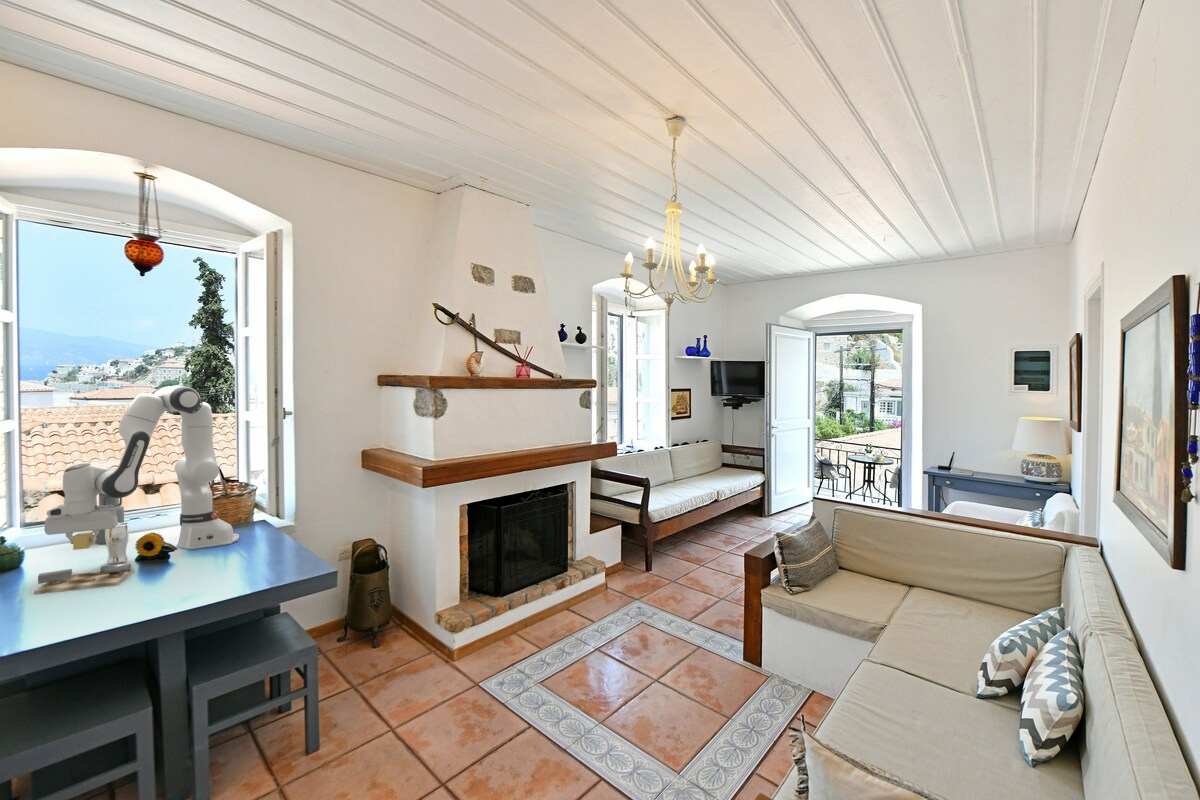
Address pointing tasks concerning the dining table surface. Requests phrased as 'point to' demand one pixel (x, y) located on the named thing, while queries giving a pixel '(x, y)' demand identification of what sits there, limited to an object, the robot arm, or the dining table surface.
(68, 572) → the shafts
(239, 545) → the dining table surface
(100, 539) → the water bottle
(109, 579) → the board
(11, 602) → the dining table surface
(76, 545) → the yellow block
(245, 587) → the dining table surface
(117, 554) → the beer glass
